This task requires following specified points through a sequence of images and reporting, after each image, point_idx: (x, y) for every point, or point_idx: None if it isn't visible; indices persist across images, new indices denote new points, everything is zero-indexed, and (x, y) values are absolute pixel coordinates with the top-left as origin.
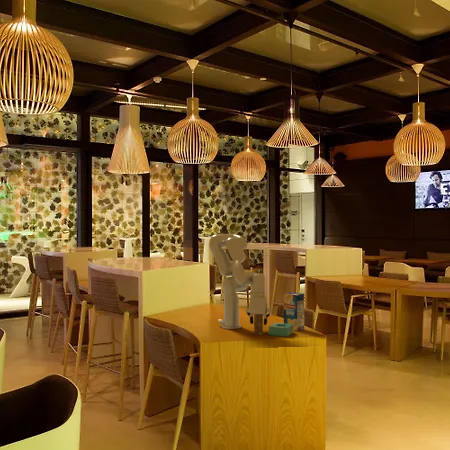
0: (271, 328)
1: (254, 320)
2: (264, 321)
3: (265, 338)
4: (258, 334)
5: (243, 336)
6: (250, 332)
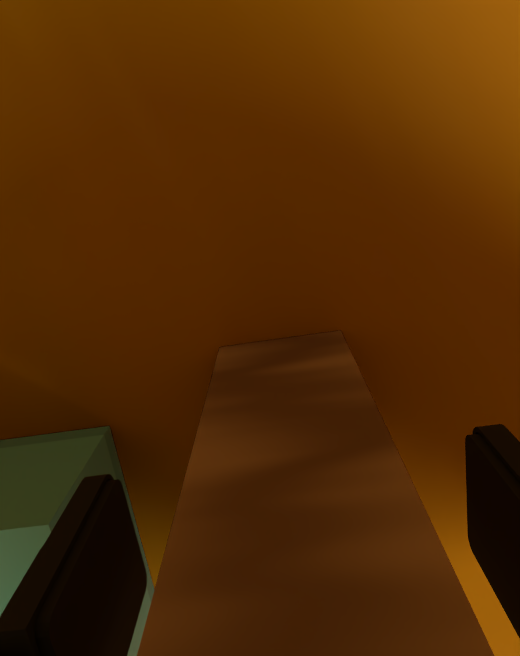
0: (6, 505)
1: (403, 493)
2: (49, 544)
3: (14, 171)
4: (259, 346)
5: (471, 93)
6: None
